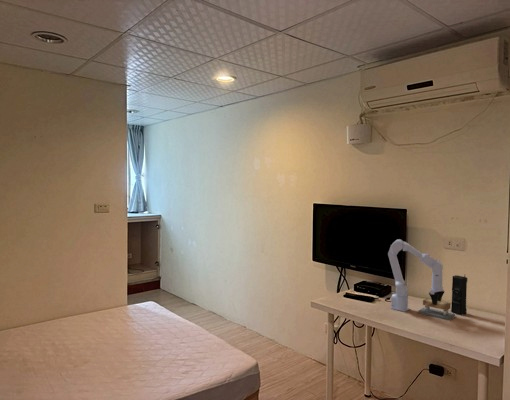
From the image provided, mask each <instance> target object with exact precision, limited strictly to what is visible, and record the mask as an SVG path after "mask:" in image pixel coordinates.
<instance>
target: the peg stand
mask: <svg viewBox="0 0 510 400" xmlns="http://www.w3.org/2000/svg"><path fill="white" fill-rule="evenodd" d="M442 310H443V309H442ZM442 310H438V309H435V308H434V309H433V308H431V307H430V306H425V305H424V307H422V308H421V309H419V310H417V314H420V315H426V316H430V317H434V318H437V319H440V320H445V321H451V320H452V319H453V318H455V317H456V313H452V312H449V310H443V311H442Z"/></svg>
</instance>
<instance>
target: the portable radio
mask: <svg viewBox="0 0 510 400" xmlns="http://www.w3.org/2000/svg"><path fill="white" fill-rule="evenodd" d="M467 287H468V277H466V275H464V276H462V275H457V274H456V275H453V276H452V284H451V305H450V309H451V311H450V313H452V314H455V315H456V314H457V315H460V316H463V315H466V314H467Z"/></svg>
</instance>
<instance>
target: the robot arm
mask: <svg viewBox="0 0 510 400" xmlns="http://www.w3.org/2000/svg"><path fill="white" fill-rule="evenodd" d="M401 251H403V252H409V253H411V255H414V256H415V257H417V258H419V260H420V262H421V263H422V264H424V265H425V266H427V267H428V268H430V269H431V270H432V273H431V288H430V291H429V292H428V295H429V297H430V299H431V300H432V304H433V305H437V301H442V298H443V296H444V294H445V289H444V287H443V267H444V266H443V263H442V262H441V261H440V260H438V259H435V258H433V257H431V255H430V254H429V253H422V252H421V251H419V250H418V249H417V248H415V247H413V246H412V245H411V244H409V243H408V242H406V241H404V240H402V239H400V238H399V239H398V238H397V239H396V240H394V241H393V242H392V244H390V247H389V250H388V252H387V256H388V259H389V264H390V266H391V270H392V274H393V279H394V283H395V293H392V295H391V297H390V309H392V310H395V311H399V312H404V313H405V312H407V311H409V310H411V308H410V307H409V304H408V303H409V301H408V300H409V296H408V295H409V294H408V293H407V292H408V290H409V286H407V284H406V282H405V279H404V278H403V274H402V269H401V267H400V264H399V259H398V256H397V255H398V254H399V252H401Z"/></svg>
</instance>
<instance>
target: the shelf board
mask: <svg viewBox="0 0 510 400" xmlns="http://www.w3.org/2000/svg"><path fill="white" fill-rule="evenodd" d="M451 305H452V302H451V303H450V302H446V301H443V300H441V301H437V305H433V304H432V300H431V298H424V299H423V300H422V306H424V307H425V306H430V308H434V309H435V308H436V309H440V310H448V311H449V310H450V309H451Z"/></svg>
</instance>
